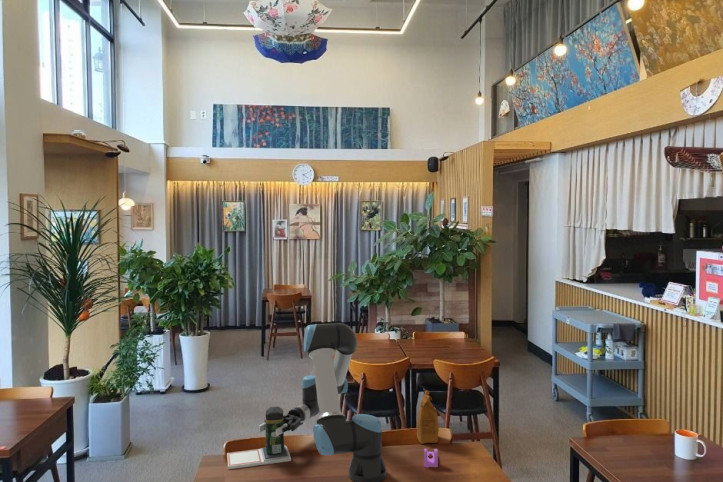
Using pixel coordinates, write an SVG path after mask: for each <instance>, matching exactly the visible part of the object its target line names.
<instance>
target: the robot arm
mask: <svg viewBox="0 0 723 482" xmlns="http://www.w3.org/2000/svg"><path fill="white" fill-rule="evenodd" d="M357 347H358V337H357V335H356V333H355V331H354V330H353V329H352V328H351V327H350V326H349V325H348V324H345V323H342V322H334V323H318V324H317V323H315V324H309V325H307V326H306V327H305V329H304V336H303V352H305V354H306V353H308V358H310V359H311V360H312V366H313V373H314V375H309V374H308V375H305V376H303V378H302V382H301V383H302V386H301V390H302V391H301V392H302V394H301V395H302V398H301V400H302V402H301V403H302V404H300V405H298V406H295V407H293V408H292V409H290V410H288V412H287V413H286V414H283V422H284V425H283V426H281V427H279V428H278V429H276V436H278V435H280V434H282V433H284V434H285V432H286V433H287V432H290V431H291V432H295V430H297V429H298V428H299V427H300V426H302V425H304V422H305V421H307V420H310V419H311V418H313V417H316V416H317V415H318V414H319V416H318V418H317V419H316V424H314V426H313V430H312V431H313V439H314V443H315V447H316V449H317V452H318V453H319V455H321V456H334V455H339V454H346V453H347V454H348V453H352V457H351V461H350V464H349V467H348V478H349V479H350V480H351V481H353V482H381V481H384V480H385V479H386V477H387V467H386V464H385V461H384V458H383V447H382V445H383V444H382V443H383V442H382V441H383V440H382V434H383V429H382V421H381V419H379V418H378V417H377V416H374V415H371V414H365V413H357V414H354V415H353V416H352V418H351V420H347V419H346V415H345V414H344V413H343V412H342V410H341V405H340V398H339V395H340V394H345V393H347V392H348V390H349V389H348V388H349V383H348V380H347V373H348V370H349V366H350V363H351V359H352V357H353V354H354V353H355V352H356V350H357ZM333 357H334V358H333ZM264 431H265V422H263V423H261V424H259V425H258V433H261V432H264Z"/></svg>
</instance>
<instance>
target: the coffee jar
mask: <svg viewBox="0 0 723 482" xmlns="http://www.w3.org/2000/svg"><path fill="white" fill-rule="evenodd" d="M283 416H284V410H283V408H282V407H280V406H271V407H269V408H267V409H266V410H265V418H264V423H265V430H264V431H265V447H266V452H267V454H271V455H277V454H280V453H282V452H283V451H284V445H285V440H284V439H285V437H284V435H285V432H284V433H282V434H280V435H278V436H276V429H278V428H279V427H281V426H283V425H285V424H284V422H283Z"/></svg>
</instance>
